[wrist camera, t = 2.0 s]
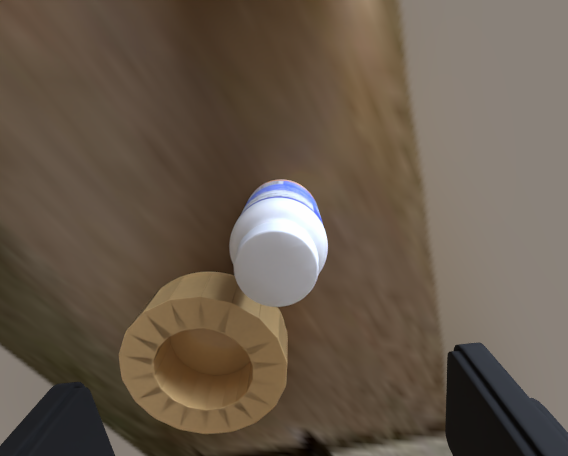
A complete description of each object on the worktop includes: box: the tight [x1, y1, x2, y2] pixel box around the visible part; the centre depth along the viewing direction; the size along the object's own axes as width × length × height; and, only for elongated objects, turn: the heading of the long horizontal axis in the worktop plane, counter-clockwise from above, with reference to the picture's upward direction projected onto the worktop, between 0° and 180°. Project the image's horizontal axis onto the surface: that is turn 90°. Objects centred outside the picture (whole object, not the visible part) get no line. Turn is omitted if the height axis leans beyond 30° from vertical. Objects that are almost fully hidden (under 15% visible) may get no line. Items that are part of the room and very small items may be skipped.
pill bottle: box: [229, 179, 328, 307], centre depth 20 cm, size 5×5×10 cm
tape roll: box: [119, 272, 287, 434], centre depth 26 cm, size 12×12×4 cm
